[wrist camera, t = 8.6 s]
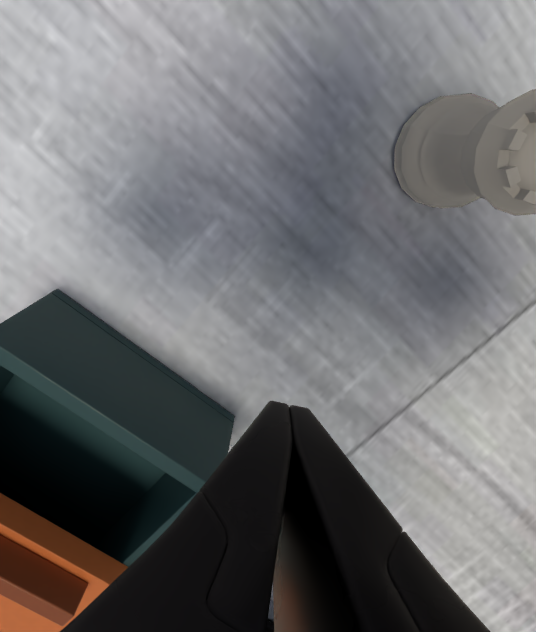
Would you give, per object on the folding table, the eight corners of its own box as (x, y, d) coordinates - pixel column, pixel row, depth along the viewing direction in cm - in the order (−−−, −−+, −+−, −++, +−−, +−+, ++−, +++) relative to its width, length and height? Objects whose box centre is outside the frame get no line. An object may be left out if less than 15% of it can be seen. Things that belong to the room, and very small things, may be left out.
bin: (57, 288, 21) (-19, 334, 16) (235, 416, 23) (221, 492, 18) (-84, 494, 26) (-174, 578, 21) (71, 579, 29) (25, 673, 24)
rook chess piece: (370, 174, 18) (430, 191, 11) (433, 73, 17) (552, 10, 9) (451, 224, 19) (560, 271, 11) (518, 131, 17) (695, 115, 10)
